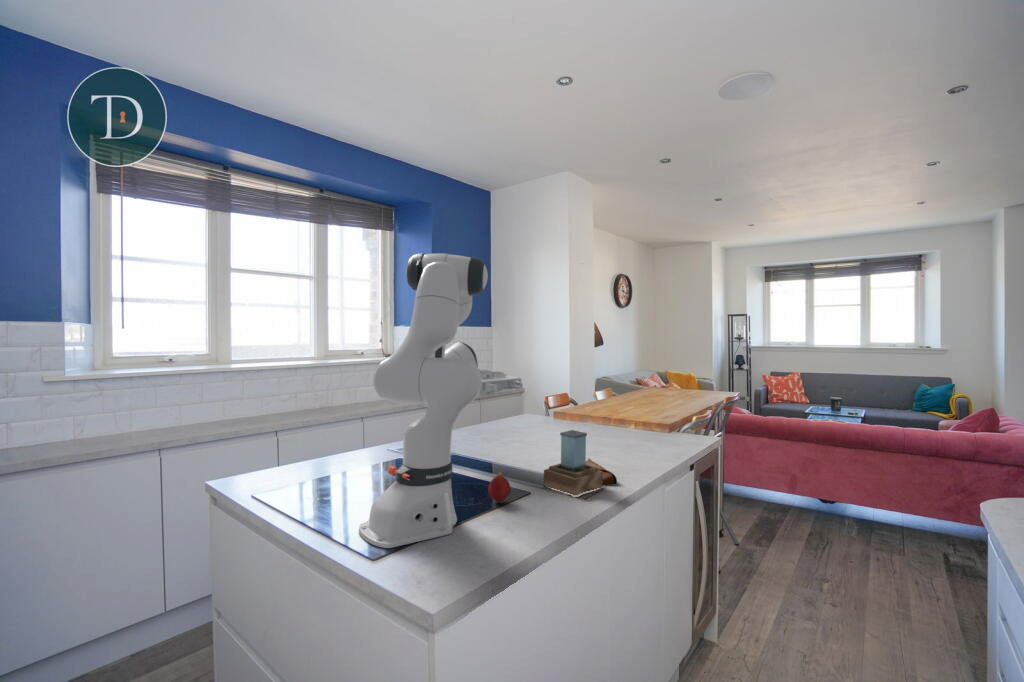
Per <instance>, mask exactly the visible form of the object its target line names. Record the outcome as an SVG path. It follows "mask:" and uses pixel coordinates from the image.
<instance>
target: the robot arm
mask: <svg viewBox="0 0 1024 682" xmlns="http://www.w3.org/2000/svg"><path fill="white" fill-rule="evenodd" d="M405 276H406V279H407V284H408V286H409V287H410V288H411V289H412V290H414V291H416V292H415V299H414V303H413V304H414V305H413V310H412V315H411V321H410V324H409V329H408V330H407V335H406V336H405V338H404V340H403V341H402V343H401V344H400V345H399V347H398V348H397V349H396V350H395V351H394V352H393V353H392V354H390V355H389V356H388V357H386V358H385V359H383V360H382V361H380V362H379V364H378V365H377V366H376V369H375V371H374V373H373V387H374V390H375V393H377V395H378V396H379V398H380V399H383V400H386V401H390V402H393V403H396V404H397V403H398V404H414V405H415V404H416V405H417V404H418V405H421V404H422V405H426V412H425V415H424V416H422V417H420V418H418V419H416V420H414V421H413V422H411V423H410V424H408V425H407V426H406V428H405V429H404V431H403V435H402V441H403V442H402V446H403V447H402V449H403V450H402V453H403V454H402V457H403V458H402V459H403V460H402V462H401V465H400V466H399V468H398V467H397V466H394V465H390V466H388V468H387V473H388V474H389V475H391V476H393V477H395V481H394V482H393V483H392V484H391V485H390V486H389V487H388V488H387V489H386V490H385V491H384V492H382V493H381V495H380V496H378V497H377V498H376V499H375V500H374V501H372V504H371V507H370V512H369V519H368V521H364V522H362V523H360V525H359V526H358V534H359V535H360V537H361V538H363V540H365V541H366V542H367V543H369V544H371V545H373V546H375V547H379V548H384V549H392V548H396V547H401V546H404V545H410V544H413V543H416V542H422V541H426V540H430V539H434V538H438V537H439V538H440V537H443V536H447V535H451V534H452V533H453V528H454V526H455V525H456V524H457V522H458V517H457V514H456V511H455V506H454V501H453V500H454V499H453V498H454V497H453V493H452V490H453V489H452V479H453V460H451V459H452V456H451V454H452V453H451V451H452V438H453V437H452V436H453V429H454V426H455V423H456V421H457V419H458V417H459V415H460V414H461V413H462V411H464V409H465V408H466V407H467V406H469V405H470V404H472V403H473V402H474V401H475V400H476V398H477V397H478V396H479V397H487V396H489V395H492V394H494V393H497V392H499V393H500V392H503V391H509V390H520V389H523V382H522V378H521V377H520V376H517V375H512V374H508V373H507V374H505V372H504V371H492V370H488V369H482V368H481V369H480V368H478V366H479V364H478V358H477V355H476V353H475V350H474V349H473V348H472V347H471V346H470V345H468V344H467V343H465V342H462V341H457V342H455V343H453V344H452V345H450V346H449V347H447V348H446V345H447V344H450V343H451V342H452V341H453V339H454V338H455V337H456V334H457V330H458V328H459V327H460V325H462V324H463V323H464V322H465V321H467V318H468V317H469V316H470V314H471V313H472V307H473V296H477V295H480V294H481V293H483V292H484V291H485V288H486V286H487V283H488V277H489V275H488V269H487V267H486V263H485V262H484V261H483V259H481V258H479V257H476V256H472V255H471V256H470V257H468V256H464V255H459V254H458V255H457V254H449V253H425V252H422V253H415V254H413V255H412V256H411V257H409V259H408V261H407V265H406V268H405Z"/></svg>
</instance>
